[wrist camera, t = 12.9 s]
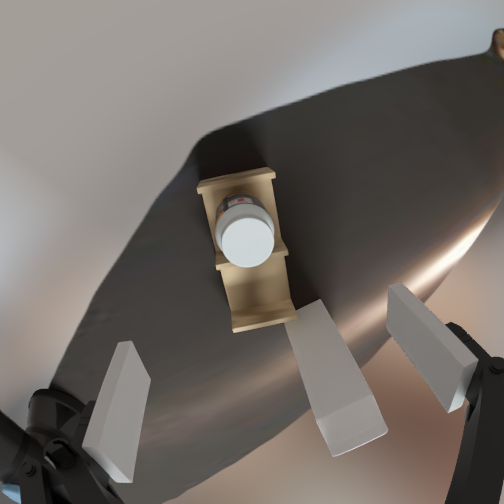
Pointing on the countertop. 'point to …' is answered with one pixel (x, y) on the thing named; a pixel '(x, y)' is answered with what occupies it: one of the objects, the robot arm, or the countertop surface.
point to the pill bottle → (244, 229)
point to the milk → (333, 381)
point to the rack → (258, 277)
